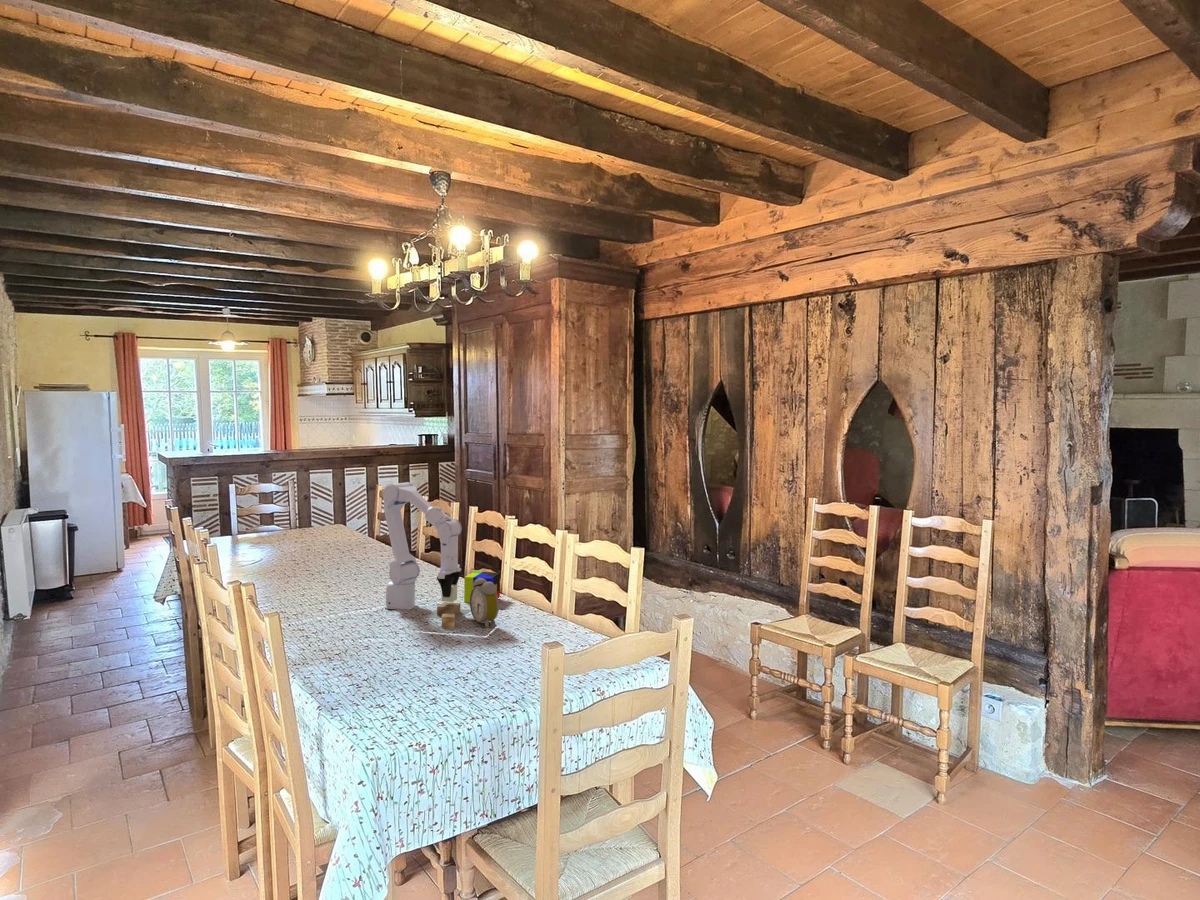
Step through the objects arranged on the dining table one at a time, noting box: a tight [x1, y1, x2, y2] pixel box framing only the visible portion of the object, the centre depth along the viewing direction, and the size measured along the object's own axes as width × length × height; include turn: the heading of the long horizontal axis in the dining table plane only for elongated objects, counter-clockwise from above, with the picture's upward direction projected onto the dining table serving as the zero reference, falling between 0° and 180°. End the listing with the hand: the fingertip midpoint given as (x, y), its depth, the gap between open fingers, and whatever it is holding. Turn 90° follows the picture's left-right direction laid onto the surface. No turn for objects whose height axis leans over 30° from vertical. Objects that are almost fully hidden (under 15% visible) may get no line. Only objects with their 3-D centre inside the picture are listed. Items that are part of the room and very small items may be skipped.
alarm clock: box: [469, 578, 500, 629], centre depth 231 cm, size 12×7×15 cm, turn 35°
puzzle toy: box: [463, 570, 501, 604], centre depth 260 cm, size 10×10×10 cm
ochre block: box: [441, 614, 456, 629], centre depth 228 cm, size 4×4×4 cm
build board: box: [425, 608, 471, 621], centre depth 241 cm, size 12×12×1 cm
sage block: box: [441, 584, 458, 603], centre depth 241 cm, size 4×4×5 cm
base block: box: [436, 601, 461, 616], centre depth 241 cm, size 6×6×3 cm
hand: (449, 595), depth 241 cm, fingers closed on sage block, 4 cm apart
